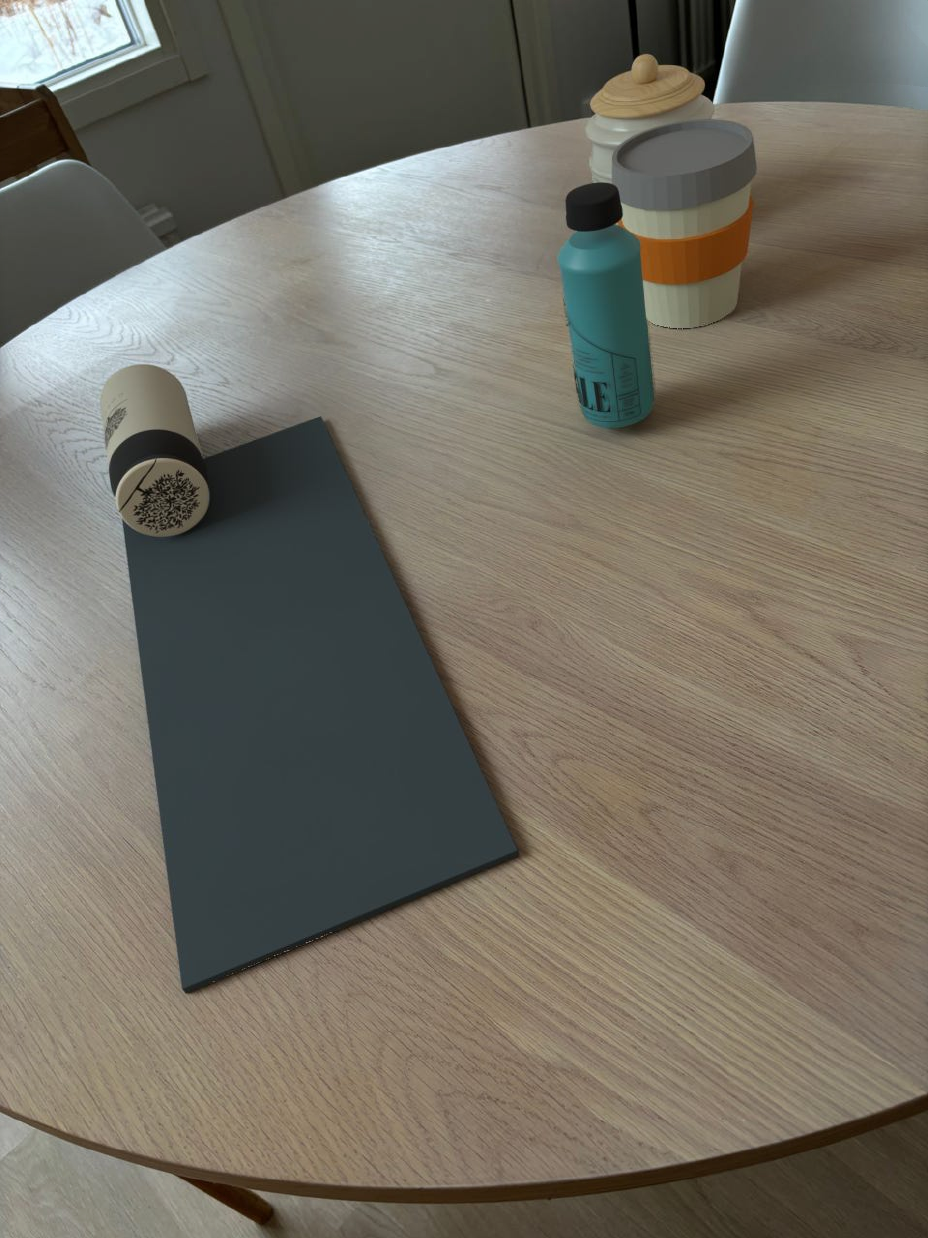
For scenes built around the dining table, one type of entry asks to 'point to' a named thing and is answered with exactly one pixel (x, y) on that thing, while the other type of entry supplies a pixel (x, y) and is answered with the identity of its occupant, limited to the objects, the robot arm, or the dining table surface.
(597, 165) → the jar
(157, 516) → the travel mug
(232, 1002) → the dining table surface
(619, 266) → the beverage bottle
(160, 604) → the mat
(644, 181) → the reusable coffee cup
